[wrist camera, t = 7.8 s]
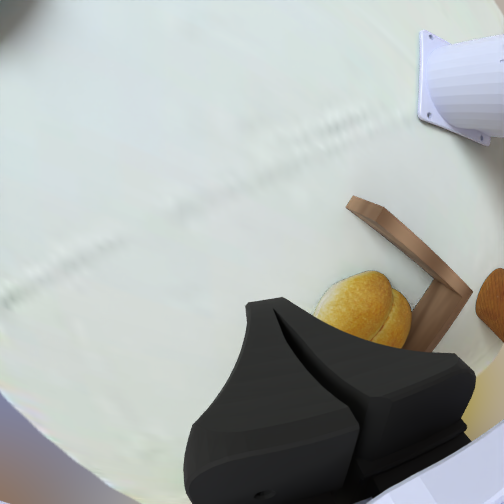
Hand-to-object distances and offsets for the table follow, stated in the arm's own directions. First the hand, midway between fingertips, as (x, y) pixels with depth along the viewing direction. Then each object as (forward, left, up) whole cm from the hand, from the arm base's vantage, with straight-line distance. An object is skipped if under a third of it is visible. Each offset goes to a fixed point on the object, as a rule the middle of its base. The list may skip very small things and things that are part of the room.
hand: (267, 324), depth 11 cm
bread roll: (-11, +6, -11) cm, 17 cm away
